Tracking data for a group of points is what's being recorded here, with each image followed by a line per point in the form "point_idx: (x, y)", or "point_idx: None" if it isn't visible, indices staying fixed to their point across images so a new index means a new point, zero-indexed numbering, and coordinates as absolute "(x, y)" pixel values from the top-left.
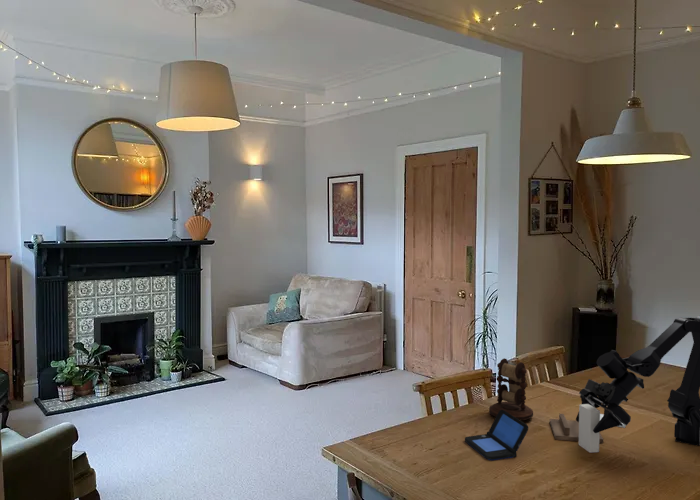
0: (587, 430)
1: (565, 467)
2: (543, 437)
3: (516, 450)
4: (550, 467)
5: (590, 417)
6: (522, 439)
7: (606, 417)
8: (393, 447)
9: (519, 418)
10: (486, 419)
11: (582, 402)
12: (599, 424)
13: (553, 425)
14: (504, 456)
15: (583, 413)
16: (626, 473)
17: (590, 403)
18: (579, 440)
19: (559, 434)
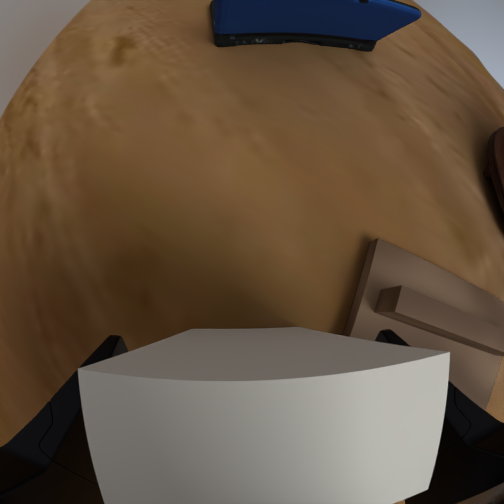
0: (206, 338)
1: (93, 146)
2: (390, 202)
3: (214, 29)
4: (113, 103)
5: (122, 355)
6: (214, 12)
7: (5, 448)
8: None
9: (497, 178)
10: (489, 122)
11: (501, 431)
12: (64, 384)
13: (471, 291)
14: (212, 20)
15: (298, 355)
16: (11, 341)
17: (458, 502)
18: (295, 328)
19: (389, 265)
